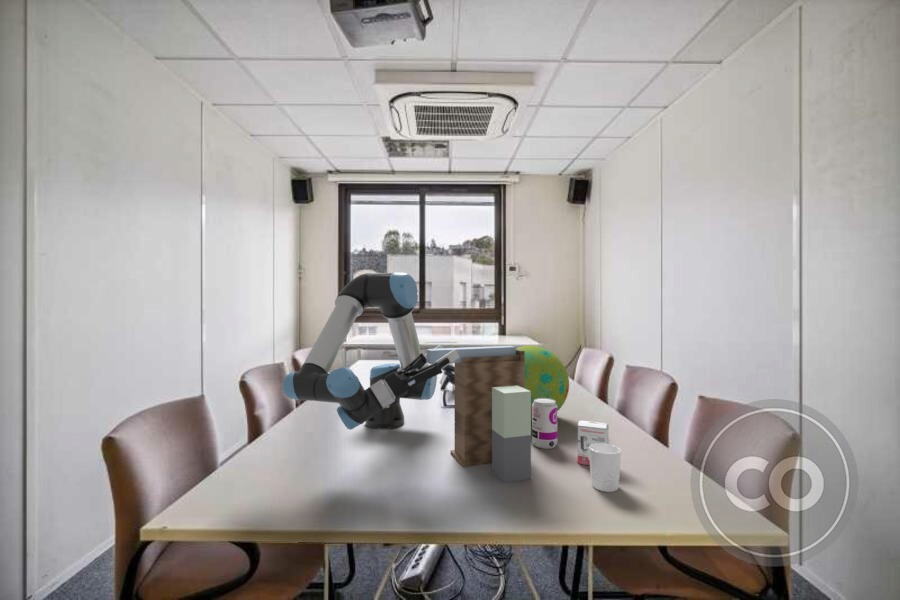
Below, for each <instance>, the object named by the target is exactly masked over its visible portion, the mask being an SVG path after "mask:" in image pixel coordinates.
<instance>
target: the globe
mask: <svg viewBox="0 0 900 600" xmlns="http://www.w3.org/2000/svg"><path fill="white" fill-rule="evenodd" d="M516 349H519V350H523V351H525V389H527V390H529V391H531V422H532V404H533V402H534V400H535V399H538V398H548V399H553V400H555V402H556V404H557V412H558V411H559V410H561V408H562V407H563V406H564V404H565V402H566V401H567V398H568V396H569V389H570V379H569V375H568V372H567V369H566V366H565V365H564V363H563V361H561V359H560V358H559V357H558V356H557V355H556V354H555V353H554V352H553V351H551V350H550V349H549V350H548V349H547V348H544V347H543V346H542V347H541V346H537V345H522V346H519V347H516Z"/></svg>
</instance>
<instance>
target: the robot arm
mask: <svg viewBox="0 0 900 600" xmlns="http://www.w3.org/2000/svg"><path fill="white" fill-rule="evenodd" d="M418 291H419V290H418V286H417V284H416V280H415V279H414V277H413V276H412V275H411V274H409V273H406V272H399V271H396V272H394V271H393V272H374V273H372V272H367V273H362V274H359V275H358V276H356V277H355V278H353V279H352V280H350V281H349V282H348V283H347V284H345V286H344V287H343V288H342V289H341V290H340V291H339V293H338V295H337V296H336V298H335V300H334V305H335V307H334V308H333V310H332V312H331V314H330V315H329V317H328V319H327V321H326V322H325V324H324V326H323V328H322V330H321V331H320V334H319V335H318V337H317V339H316V341H315V342H314V343H313V346H312V347H311V349H310V351H309V353H308V354H307V356H306V358H305V360H304V362H303V364H302V365H301V367H300V368H299V370H297V371H296V370H295V371H291V372H289V373H287V374H286V376H285V377H284V378H283V382H282V391H283V394H284V395H285V397H286V398H288V399H290V400H296V401H314V402H320V403H321V402H324V403H334V404H339V406H338V407H337V408H336V413H337V414H338V417H339V419H340V421H341V422H342V423H343V426H344V427H346V429H348V430H354V429H355V428H357V427H358V426H360V425H363V424H364V423H365V425H366V427H369V428H372V429H378V430H381V429H393V428H399V427H401V426H402V425H404V423H405V415H404V411H403V409H402V405H401V399H410V400H417V401H418V400H419V401H424V400H425V401H428V400H431V399H432V398H433V396H434V395H435V391H436V386H437V382H438V381H437V380H438V375H441V374H443V369H444V368H446V367H447V366H449V365H450V364H453V363H452V362H453V361H455V360H456V359H458V358H459V355H458V353H457V351H456V350H455V349H454V350H452V351H451V352H449V353H448V354H446V355H445V356H443V357H442V358H440V359H439V360H437V361H436V362H437V363H434V364H429V363H427V352H426V353H425V354H423V353H422V349H421V346H420V340H419V338H418V333H417V330H416V325H415V320H414V317H413V314H412V312H413V311H414V309H415V307H416V305H417V303H418V299H419V295H418ZM369 308H376V309H377V308H379V310H380V313H381V316H382V317H383V318H385V319H386V320H387V322H388V324H389V325H388V326H389V329H390V332H391V336H392V339H393V343H394V346H395V350H396V353H397V357H398V360H399V363H398V362H397V363H396V362H394V363H384V364H380V365H379V364H378V365H376V366H373V367H372V368H371V369H370V372H369V387H368V388H366V389H365V388H364V386H363V385H362V383H361V381H360V379H359V377H358V376H357V375H356V374H355V373H354V372H353V370H352V369H351V368H349V367H345V366H341V367H339V368H335V369H333V370H331V369H332V366H333V364H335V361H336V359H337V357H338V354H339V353H340V351H341V349H342V347H343V345H344V343H345V341H346V339H347V337H348V336H349V333H350V331H351V329H352V327H353V325H354V323H355V322H356V319H357V318H358V317H360V316H361V315H362V314H363V313H364V311H365V309H369ZM441 348H444V346H443V345H442V343H440V344H438V345H437V346H436V347H433V349H441ZM330 370H331V371H330Z"/></svg>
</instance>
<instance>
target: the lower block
mask: <svg viewBox="0 0 900 600" xmlns="http://www.w3.org/2000/svg"><path fill="white" fill-rule="evenodd" d="M531 453H532V434H531V435H527V436H518V437H510V438H503V437H502V436H501V435H499V434H498V433H497V432H495V431H494V430H492V463H491V472H492V471H493V472H494V475H495V476H497V478H498V479H500V480H501V481H502V483H504V484H505V483H506V482H507V483H512V482H518V481H526V480H531V479H532V454H531ZM493 472H492V473H493Z"/></svg>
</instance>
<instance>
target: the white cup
mask: <svg viewBox="0 0 900 600" xmlns="http://www.w3.org/2000/svg"><path fill="white" fill-rule="evenodd" d="M621 456H622V449H621V448H620V447H618V446H616V445H613V444H610V443H608V444H604V443H595V444H591V445H590V446H589V458H590V465H589V471H590V485H591V487H593V488H594V489H596V490H598V491H601V492H604V493H605V492H606V493H613V492H616V491H619V489H620V488H619V487H620V478H621V475H620V474H621V462H622V461H621V460H622V459H621Z"/></svg>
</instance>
